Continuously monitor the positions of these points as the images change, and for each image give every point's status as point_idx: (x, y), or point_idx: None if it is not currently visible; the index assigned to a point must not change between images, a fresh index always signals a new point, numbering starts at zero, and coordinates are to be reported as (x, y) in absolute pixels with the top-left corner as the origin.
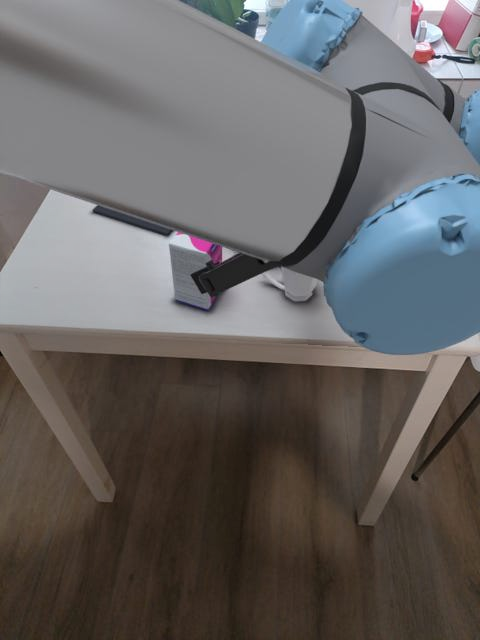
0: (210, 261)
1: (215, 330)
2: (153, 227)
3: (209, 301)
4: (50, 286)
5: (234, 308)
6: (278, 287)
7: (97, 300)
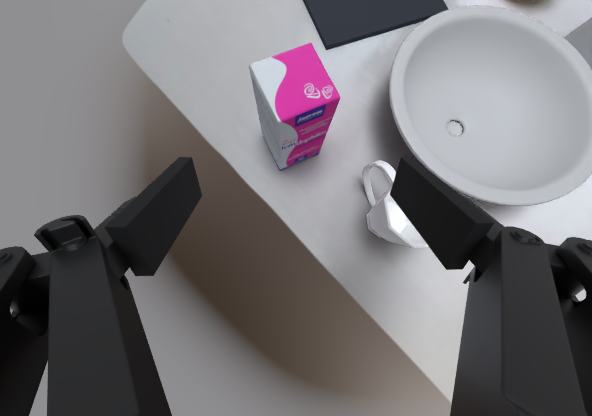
0: (64, 227)
1: (266, 197)
2: (321, 28)
3: (283, 164)
4: (179, 28)
5: (306, 187)
6: (368, 200)
7: (202, 76)
